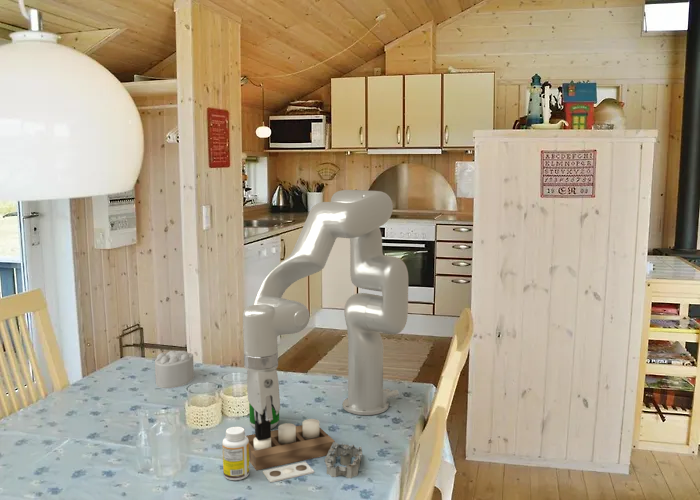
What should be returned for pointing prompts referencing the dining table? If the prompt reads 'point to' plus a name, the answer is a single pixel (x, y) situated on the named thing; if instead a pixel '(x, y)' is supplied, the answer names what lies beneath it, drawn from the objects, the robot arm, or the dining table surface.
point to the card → (288, 472)
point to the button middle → (287, 433)
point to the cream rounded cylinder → (262, 443)
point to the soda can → (252, 420)
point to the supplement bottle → (235, 454)
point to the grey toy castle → (343, 460)
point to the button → (311, 429)
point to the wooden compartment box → (288, 450)
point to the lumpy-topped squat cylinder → (174, 369)
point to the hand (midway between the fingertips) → (263, 437)
